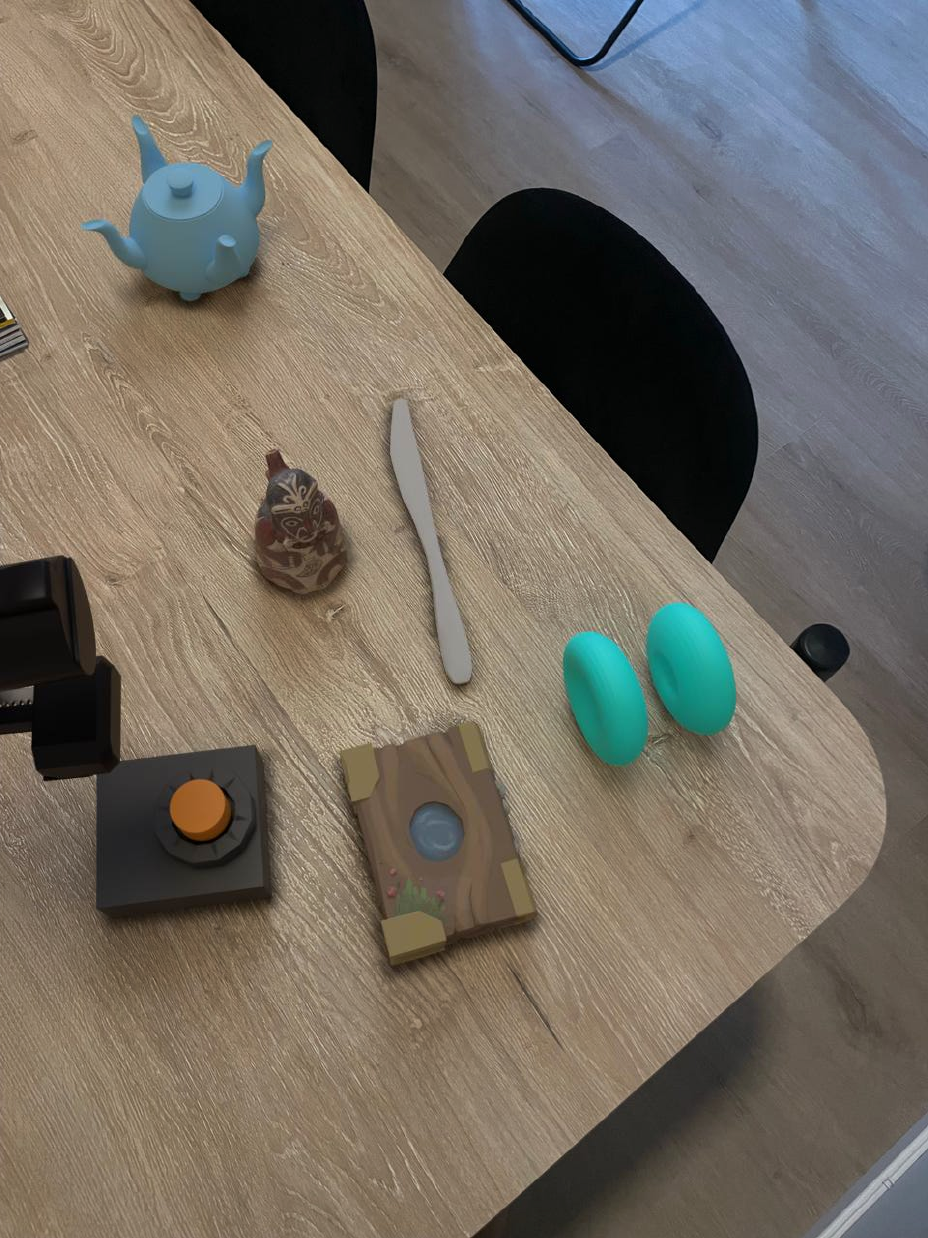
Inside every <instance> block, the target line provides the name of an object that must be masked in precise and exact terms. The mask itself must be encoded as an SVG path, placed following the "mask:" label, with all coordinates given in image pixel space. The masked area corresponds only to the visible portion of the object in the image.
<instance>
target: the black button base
mask: <svg viewBox="0 0 928 1238" xmlns="http://www.w3.org/2000/svg"><path fill="white" fill-rule="evenodd" d="M264 766H265V765H264V761H263V759H262V756H261V754H260V752H259V750H258V748H257V746H256V744H248V745H239V746H233V747H225V748H216V749H207V750H199V751H191V752H184V753H183V752H182V753H175V754H174V753H173V754H166V755H158V756H149V757H141V758H134V759H126V760H120V763H119V764H118V765H117V766H116V767H115V768H114V769H113V770H112V771H111V772H110V773H106V774H96V788H95V789H96V794H95V795H96V804H95V805H96V807H95V808H96V811H95V812H96V813H95V814H96V815H95V816H96V817H95V818H96V820H95V821H96V825H95V826H96V827H95V828H96V829H95V830H96V832H95V834H96V835H95V836H96V839H95V840H96V841H95V842H96V843H95V845H96V846H95V849H96V850H95V852H96V853H95V857H96V859H95V862H96V863H95V865H96V867H95V883H96V884H95V909H96V910H98V911H99V912H101V913H102V914H104V915H106V916H108V917H109V918H110V919H112V920H116V919H123V918H131V917H138V916H147V915H154V914H161V913H169V912H177V911H184V910H192V909H199V908H205V907H206V908H207V907H214V906H221V905H229V904H238V903H244V902H252V901H258V900H259V901H260V900H268V899H272V898H273V895H272V879H271V878H272V877H271V876H272V875H271V863H270V860H271V859H270V846H269V845H270V843H269V831H268V829H269V828H268V816H267V813H268V812H267V799H266V782H265V768H264ZM198 779H203V780H208V781H211V782H213V783H215V784H216V785H217V786H218V787H219V788H220V789H221V790H222V792H223V793H224V795H225V797H226V798H227V800H228V802H229V804H230V807H231V818H230V821H229V824H228V826H227V827H226V829H225V830H224V831H223V832H222V833H221V834H220V835H219V836H217V837H216V838H214V839H211V840H208V841H196V840H192V839H190V838H188V837H187V836H185V835H184V834H183V833H182V832H181V831H180V829H179V828H178V827H177V826H176V825H175V823H174V822H173V820H172V818H171V815H170V803H171V800H172V797H173V795H174V794H175V792H176V791H177V790H178V789H179V788H180V787H181V786H182V785H184V784H185V783H187V782H189V781H192V780H198Z"/></svg>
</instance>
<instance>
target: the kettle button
mask: <svg viewBox="0 0 928 1238" xmlns="http://www.w3.org/2000/svg"><path fill="white" fill-rule="evenodd" d="M170 815H171V818H172V820H173V822H174V823H175V825H176V826H177V827H178V828H179V829H180V831H181V832H182V833H183V834H184V835H185V836H187V837H188V838H190V839H192V840H196V841H208V840H211V839H214V838H216V837H217V836H219V835H220V834H221V833H222V832H223V831H224V830H225V829H226V827H227V826H228V824H229V821H230V818H231V807H230V804H229V802H228V800H227V798H226V797H225V795H224V793H223V792H222V790H221V789H220V788H219V787H218V786H217V785H216V784H215V783H213V782H211V781H208V780H203V779H198V780H192V781H189V782H187V783H185V784H184V785H182V786H181V787H180V788H179V789H178V790H177V791H176V792H175V794H174V795H173V797H172V800H171V803H170Z"/></svg>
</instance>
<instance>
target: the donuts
mask: <svg viewBox="0 0 928 1238" xmlns="http://www.w3.org/2000/svg"><path fill="white" fill-rule="evenodd" d="M645 640H646V643H645V647H646V648H645V649H646V658H647V664H648V668H649V673H650V675H651V679H652V682H653V684H654V687H655V689H656V692H657V694H658V696H659V698H660V700H661V702H662V704H663V705H664V706H665V708H666V710H667V711H668V713H669V714H670V716H672V718H673V719H674V720H675V721H676V722H677V723H678V724H679V725H681V726H682V727H683V728H684V729H686V730H687V731H689V732H692V733H694V734H697V735H702V736H713V735H715V734H718V733H720V732H723V731H724V730H725V729H726V728H727V727H728V725H729V724H730V723H731V722H732V719H733V717H734V715H735V712H736V707H737V686H736V679H735V675H734V671H733V667H732V663H731V660H730V658H729V655H728V652H727V649H726V646H725V645H724V642H723V640H722V639H721V637H720V635H719V633H718V632H717V629H715V626H714V625H713V623H712V622H711V621H710V620H709V619H708V618H707V616H706V615H704V613H703V612H701V610H699V609H697V608H696V607H695V606H693V605H691V604H688V603H685V602H671V603H668V604H665V605H664V606H662V607H660V608H659V609H658V610H657V611H656V612H655V613H654V615H653V616H652V618H651V620H650V622H649V624H648V628H647V632H646V639H645ZM562 671H563V672H562V674H563V681H564V686H565V690H566V694H567V697H568V701H569V704H570V707H571V710H572V713H573V716H574V718H575V721H576V723H577V725H578V727H579V730H580V732H581V734H582V735H583V738H584V739H585V741H586V743H587V744H588V746H589V748H590V749H591V750H592V751H593V753H594V754H595V756H597V757H598V759H600V760H601V761H602V762H604V763H606V764H608V765H611V766H614V767H623V766H629V765H630V764H631V763H633V762H635V761H636V760H637V759H638V758H639V757H640V756H641V754H642V753H643V751H644V749H645V746H646V743H647V739H648V733H649V717H648V710H647V704H646V701H645V697H644V692H643V690H642V686H641V684H640V681H639V679H638V676H637V674H636V672H635V670H634V667H633V666H632V664H631V662H630V660H629V658H628V657H627V656H626V654H625V653H624V651H622V649H621V648H620V647H619V646H618V645H617V644H616V643H615V642H614V641H613V640H612V639H610V638H609V637H608V636H606V635H604V634H602V633H599V632H596V631H591V630H589V631H582V632H579V633H576V634H575V635H574V636H572V637H571V638H570V639H569V640H568V641H567V644H566V645H565V647H564V649H563V656H562Z"/></svg>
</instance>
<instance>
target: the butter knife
mask: <svg viewBox="0 0 928 1238" xmlns="http://www.w3.org/2000/svg"><path fill="white" fill-rule="evenodd" d="M410 413H411V412H410V409H409V404H408V400H407V399H405V398H401V397H400V398H398V399H396V400H395V401H394V402H393V406H392V415H391V425H390V445H389V455H390V459H391V464H392V467H393V471H394V474H395V478H396V481H397V484H398V487H399V491H400V494H401V497H402V499H403V502H404V504H405V506H406V508H407V511H408V512H409V514H410V517H411V520H412V522H413V523H414V525H415V528H416V532H417V535H418V538H419V540H420V543H421V545H422V549H423V551H424V554H425V557H426V563H427V568H428V572H429V579H430V582H431V589H432V598H433V599H432V600H433V609H434V619H435V627H436V633H437V639H438V645H439V651H440V656H441V659H442V663H443V667H444V671H445V674H446V676H447V677H448V678H449V680H450V681H451V683H452V684H455V685H463V684H466V683H468V682H469V681H470V680H471V678H472V672H473V663H472V658H471V657H472V656H471V652H470V646H469V643H468V639H467V634H466V631H465V627H464V624H463V620H462V617H461V613H460V609H459V607H458V604H457V601H456V598H455V596H454V593H453V589H452V587H451V583H450V580H449V577H448V574H447V573H448V572H447V570H446V566H445V562H444V560H443V555H442V552H441V549H440V544H439V540H438V539H439V538H438V536H437V531H436V527H435V522H434V517H433V511H432V508H431V507H432V506H431V502H430V498H429V492H428V487H427V482H426V479H425V474H424V469H423V465H422V460H421V456H420V452H419V448H418V444H417V439H416V437H415V433H414V428H413V423H412V418H411V414H410Z"/></svg>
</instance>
